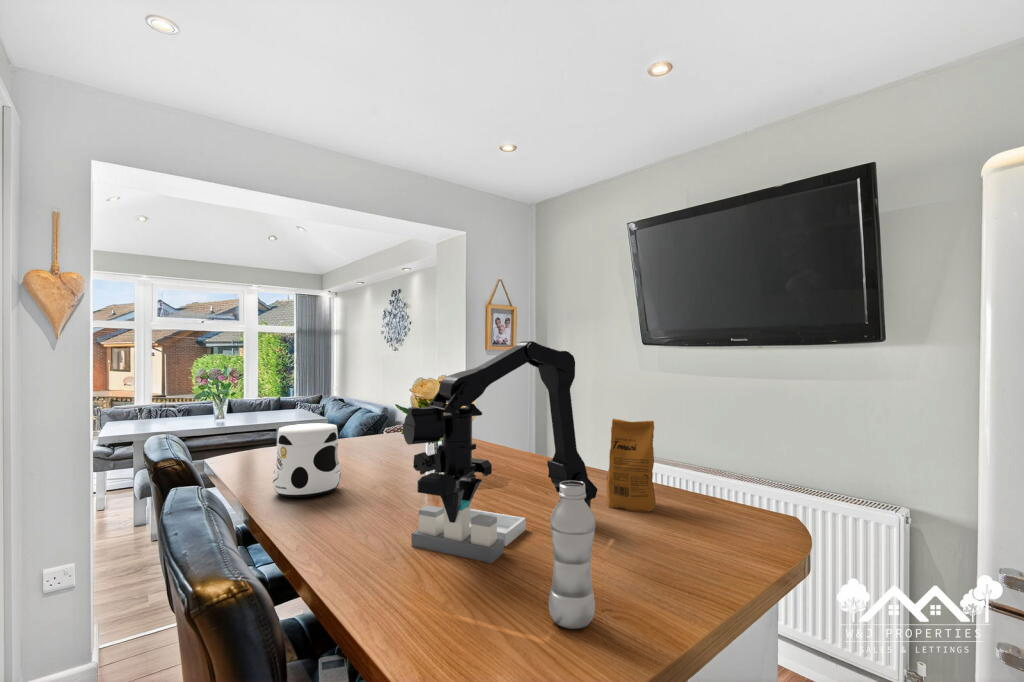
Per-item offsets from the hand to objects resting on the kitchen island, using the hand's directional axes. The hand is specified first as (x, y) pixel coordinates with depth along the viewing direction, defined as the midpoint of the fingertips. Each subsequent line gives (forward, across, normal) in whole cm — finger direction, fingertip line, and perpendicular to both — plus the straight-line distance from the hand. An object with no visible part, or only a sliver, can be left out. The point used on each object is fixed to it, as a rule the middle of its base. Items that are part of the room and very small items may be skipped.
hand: (456, 519), depth 94 cm
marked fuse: (+4, 0, 0) cm, 4 cm away
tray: (+6, -10, 0) cm, 12 cm away
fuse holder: (+6, 0, 0) cm, 6 cm away
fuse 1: (+6, 0, -6) cm, 8 cm away
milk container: (+6, -16, -58) cm, 61 cm away
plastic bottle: (+6, +14, +28) cm, 32 cm away
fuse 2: (+6, 0, +6) cm, 8 cm away
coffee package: (+6, -44, +25) cm, 51 cm away
